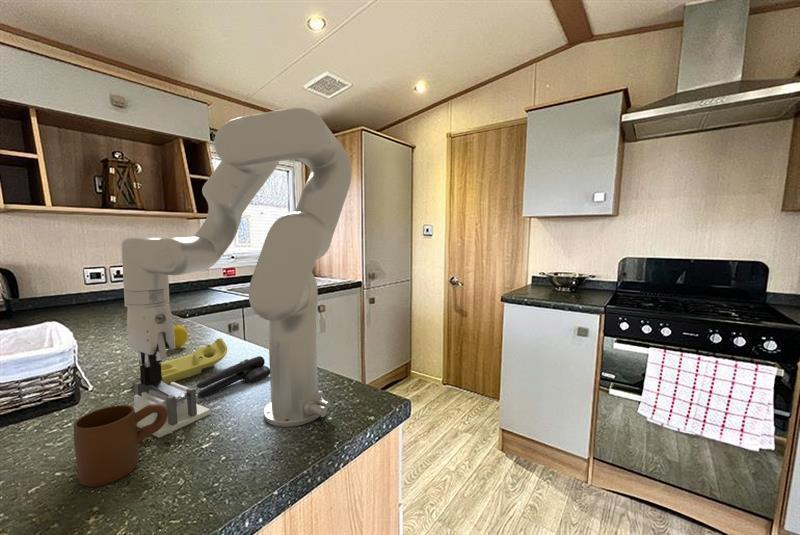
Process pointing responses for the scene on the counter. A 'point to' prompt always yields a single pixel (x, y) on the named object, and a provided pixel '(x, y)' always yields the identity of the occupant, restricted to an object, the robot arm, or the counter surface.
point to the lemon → (180, 336)
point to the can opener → (235, 375)
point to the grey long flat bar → (169, 391)
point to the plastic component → (193, 362)
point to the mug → (112, 442)
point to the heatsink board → (168, 407)
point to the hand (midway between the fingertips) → (151, 382)
